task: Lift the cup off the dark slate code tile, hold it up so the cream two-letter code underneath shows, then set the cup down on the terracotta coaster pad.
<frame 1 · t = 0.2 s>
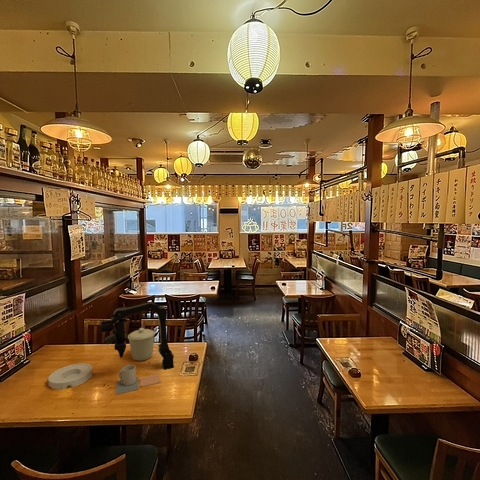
hand: (121, 354, 174), 14 cm above the table, tool pointing down, fingers open, 9 cm apart
coaster pad: (150, 380, 170), on the table
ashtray: (71, 379, 175), on the table
cup: (127, 382, 168), resting on code tile
canister: (142, 357, 200), on the table
code tile: (127, 385, 165), on the table
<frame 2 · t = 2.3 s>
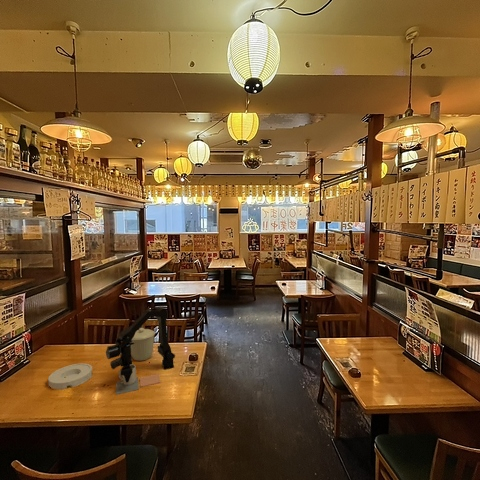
hand: (127, 379, 168), 2 cm above the table, tool pointing down, fingers closed on cup, 7 cm apart
cup: (127, 382, 168), resting on code tile, touching gripper
everything else where it was.
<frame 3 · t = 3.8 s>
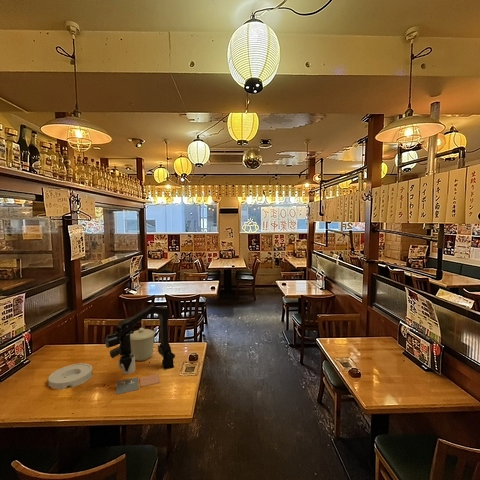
hand: (126, 368, 167), 9 cm above the table, tool pointing down, fingers closed on cup, 7 cm apart
cup: (126, 371, 168), point 7 cm above the table, touching gripper
everything else where it was.
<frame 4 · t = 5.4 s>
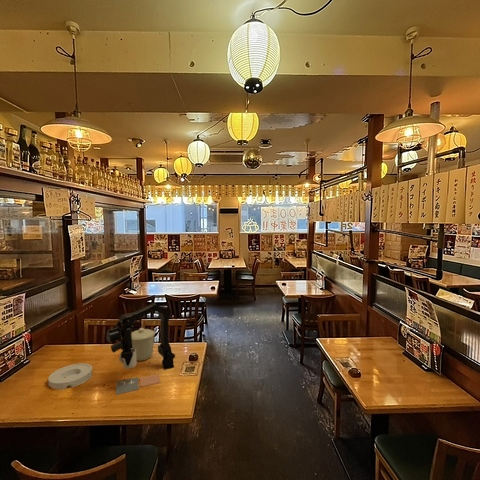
hand: (127, 362, 167), 12 cm above the table, tool pointing down, fingers closed on cup, 7 cm apart
cup: (128, 366, 168), point 10 cm above the table, touching gripper
everything else where it was.
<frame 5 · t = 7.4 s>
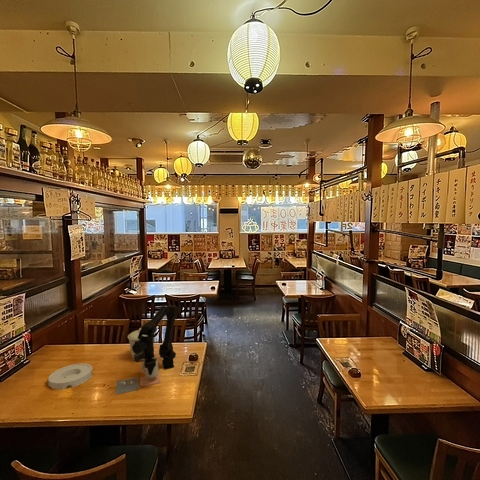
hand: (149, 371, 169), 5 cm above the table, tool pointing down, fingers closed on cup, 7 cm apart
cup: (149, 375, 170), point 3 cm above the table, touching gripper
everything else where it was.
when the fingers open (4 cm above the table, at t = 8.7 s): cup drops 1 cm, resting on coaster pad.
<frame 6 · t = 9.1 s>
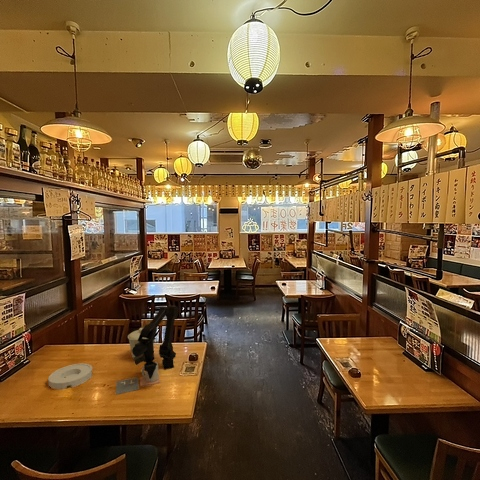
hand: (149, 374, 169), 4 cm above the table, tool pointing down, fingers open, 9 cm apart
cup: (150, 379, 170), resting on coaster pad
everything else where it was.
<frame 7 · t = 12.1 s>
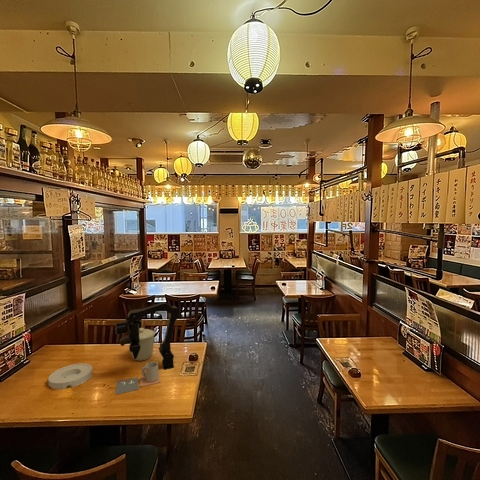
hand: (135, 355, 176), 12 cm above the table, tool pointing down, fingers open, 9 cm apart
nothing on the table moved.
at the end: cup inside the target area (0.6 cm from its centre), resting on coaster pad; cup tilted 0°; the gripper is holding nothing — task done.
